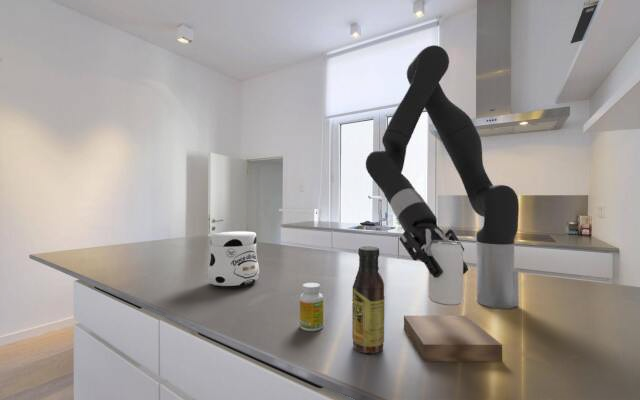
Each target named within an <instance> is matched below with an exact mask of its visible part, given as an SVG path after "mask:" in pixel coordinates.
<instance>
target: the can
mask: <svg viewBox="0 0 640 400" xmlns="http://www.w3.org/2000/svg"><path fill="white" fill-rule="evenodd" d="M431 242H432V245H431V247H430V250H431V253H432V255H431V256H433V257H434V259H435V260H436V261H437V263H438V264H439V266H440V267H441V269H442V271H443V273H442V274H441V275H440V276H439V277H437V278H434V277H433V275H432V274H431V273H430V272H429V271H428V280H427V282H428V284H427V285H428V291H427V292H428V293H427V295H428V297H427V298H428V299H429V300H430V301H431V302H433V303H435V304H438V305H442V306H458V305H459V306H460V305H461V303H463V299H464V274H463V261H464V251H463V249H462V247H461V245H462V242H457V241H450V240H432V241H431Z"/></svg>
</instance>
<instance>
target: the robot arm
mask: <svg viewBox="0 0 640 400" xmlns="http://www.w3.org/2000/svg"><path fill="white" fill-rule="evenodd" d="M449 64H450V58H449V55H448V52H447V51H446V50H445V49H444V48H443V47H441V46H440V45H435V44H434V45H433V44H432V45H428V46H427V47H425V48H423V49H422V50H421V51H419V52H418V54H417V55H416V56H415V57H414V58H413V59H412V61H410V63H409V64H408V66H407V69H406V77H407V78H406V79H407V81H408V84H409V88H408V89H407V91H406V92H405V94H404V96H403V98H402V100H401V101H400V103H399V105H398V106H397V108H396V109H395V110H394V111H395V112H394V113H393V115H392V116H391V119H390V120H389V123H388V125H387V127H386V129H385V131H384V133H383V136H382V141H381V142H382V145H383V147H384V150H381V149H376V150H373V151H371V152H370V153H369V154H368V156H367V157H366V159H365V169H366V171H367V173H368V175H370V177H371V179H372V180H373V181H374V183H375V184H376V185H377V186H378V187H379V189H380V190H381V192H382V193H383V196H384V197H385V198H386V200H387V202H388V203H389V205H390V208H391V210H392V212H393V214H394V216H395V217H396V219H397V221H398V223H399V224H400V226H401V227H402V229H403V233H402V234H401V235H400V237H399V241H400V242H401V245H402V246H403V247H404V248H405V250H406V252H407V253H408V254H409V256H410V257H411V259H412V260H413V261H418V260H419V261H420V262H421V263H424V265H425V268H426V269H427V270H428V273H429V272H430V273H431V274H432V275H433V277H434V278H437V277H439V276H440V275H441V274H442V273H443V271H442V269H441V267H440V266H439V264H438V263H437V261H436V260H435V259H434V257H433V256H431V255H432V253H431V250H430V247H431V245H432V242H431V241H432V240H450V241H457V242H460V240H459V238H458V237H457V235H456V233H455V231H454V230H453V229H451V228H449V229H448V230H447V231H443V230H442V229H441V228H440V227H439V226H438V224H437V223H438V221H437V216H436V215H435V213H434V212H433V211H432V210H431V208H430V206H429V205H428V204H427V202H426V201H425V200H424V198H423V197H422V196H421V194H420V193H418V191H417V190H416V188H415V187H414V186H413V184H412V183H411V182H410V180H409V179H408V178H407V177H406V176H405V175H403V173H402V172H403V169H404V165H405V159H406V153H407V147H408V145H409V143H410V140H411V139H412V136H413V134H414V131H415V130H416V126H417V124H418V123H419V120H420V118H421V115H422V114H423V112H424V109H425V111H426V112H427V114H428V116H429V118H430V120H431V122H432V124H433V126H434V127H435V130H436V132H437V134H438V136H439V139H440V141H441V142H442V145H443V147H444V148H445V150H446V152H447V154H448V156H449V158H450V159H451V161H452V164H453V166H454V168H455V169H456V171H457V173H458V175H459V177H460V180H461V182H462V184H463V187H464V190H465V193H466V195H467V198H468V200H469V203H470V206H471V208H472V209H473V211H474V212H475V213H476V214H477V215H479V216H481V217H483V218H484V219H483V226H482V228H481V229H479V230H478V231H477V232H476V238H475V239H476V240H475V241H476V302H477V303H478V304H480V305H481V306H482V305H483V306H484V307H485V306H486V307H489V308H492V309H502V310H503V309H504V310H507V309H508V310H509V309H513V308H517V307H519V303H520V302H519V301H520V300H519V272H518V271H517V270H516V269H515V237H516V236H517V233H518V229H519V210H520V208H519V198H518V195H517V193H516V191H515V190H514V189H513V188H512V187H510V186H509V185H505V184H495V185H494V184H493V183H492V181H491V179H490V178H489V176H488V174H487V172H486V170H485V166H484V162H483V161H484V160H483V147H482V139H481V136H480V135H479V132H478V130H477V128H476V126H475V124H474V122H473V121H472V119H471V117H470V116H469V115H468V114H467V113H466V112H465V111H464V110H462V108H461V107H458V106H457V105H456V104H454V103H453V102H452V101H451V100H450V99H449V98H448V97H447V96H446V93H445V92H444V90H443V88H442V86H441V83H440V82H441V80H442V78H443V77H444V75H445V74H446V72H447V71H448V69H449ZM461 247H462V249H463V252H465V248H464V246H463V244H461ZM468 271H469V266H468V265H467V263H466V262H465V260H463V275H465V274H466V273H468Z"/></svg>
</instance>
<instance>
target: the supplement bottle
mask: <svg viewBox="0 0 640 400" xmlns="http://www.w3.org/2000/svg"><path fill="white" fill-rule="evenodd" d="M320 291H321V285H320V283H316V282H306V283H303V284H302V292H303V293H301V294H300V297H299V326H300V329H302V330H303V331H306V332H317V331H320V330H321V329H323V327H324V296H323V294H322V293H320Z"/></svg>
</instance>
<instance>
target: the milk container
mask: <svg viewBox="0 0 640 400" xmlns="http://www.w3.org/2000/svg"><path fill="white" fill-rule="evenodd" d="M257 247H258V245H257V233H256V232H254V231H223V232H215V233H214V232H213V233H212V234H211V235H210V262H209V265H208V269H207V278H208V282H209V283H210V285H212V286H214V287H216V288H222V289H233V288H234V289H236V288H237V289H238V288H243V287H247V286H250V285H252V284H254V283H256V282H257V280H258V278H259V275H260V265H259V262H258V258H257Z"/></svg>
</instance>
